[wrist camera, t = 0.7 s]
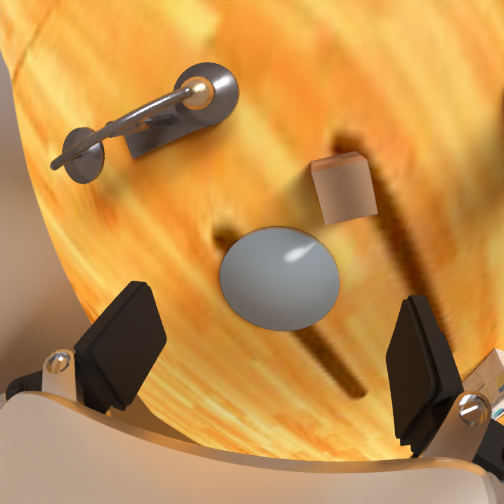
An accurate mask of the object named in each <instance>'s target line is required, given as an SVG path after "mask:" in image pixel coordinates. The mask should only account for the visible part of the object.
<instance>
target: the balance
mask: <svg viewBox="0 0 504 504" xmlns="http://www.w3.org/2000/svg"><path fill="white" fill-rule="evenodd" d="M238 100H239V86H238V82H237V80H236V78H235V76H234V75H233V74H232V73H231V72H230V71H229V70H228V69H227V68H225V67H223V66H221V65H219V64H216V63H210V62H205V63H199V64H196V65H193V66H191V67H189V68H188V69H187V70H185V71H184V72H183V73H182V74H181V75H180V77H179V78H178V80H177V82H176V84H175V86H174V90H173V92H170V93H168V94H166V95H164V96H162V97H159V98H157V99H155V100H153V101H151V102H149V103H147V104H145V105H143V106H141V107H139V108H137V109H135V110H133V111H131V112H129V113H128V114H126V115H124V116H122V117H120V118H118V119H117V120H115V121H110V122H108V123H106V125H105V127H103V128H101V129H100V130H98V131H96V132H95V131H94V130H93V129H91V128H88V127H81V128H76V129H74V130H72V131H71V132H70V133H69V134H68V136H67V137H66V139H65V141H64V144H63V150H62V154H61V155H60V156H59V157H57V158H56V159H54V160H53V161H52V162H51V164H50V167H51V169H52V170H57V169H59V168H60V167H62V166H63V165H64V167H65V170H66V172H67V173H68V175H69V176H70V177H71V179H73V180H74V181H75V182H77V183H80V184H86V183H89V182H91V181H93V180H95V179H96V178H97V177H98V176H99V175H100V173H101V171H102V169H103V166H104V159H105V153H104V147H103V143H102V140H104V139H106V138H108V137H109V138H112V137H116V136H120V135H124V137H125V139H126V142H127V145H128V147H129V150H130V153H131V155H132V158H133V159H135V158H137V157H140V156H142V155H144V154H146V153H148V152H150V151H152V150H154V149H156V148H158V147H160V146H163V145H165V144H167V143H169V142H172V141H174V140H176V139H178V138H181V137H183V136H185V135H188V134H190V133H193V132H195V131H197V130H200V129H202V128H205V127H208V126H212V125H216V124H218V123H221V122H222V121H224V120H225V119H227V118H228V117H229V116H230V115H231V114H232V113H233V111H234V110H235V108H236V106H237V103H238Z"/></svg>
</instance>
